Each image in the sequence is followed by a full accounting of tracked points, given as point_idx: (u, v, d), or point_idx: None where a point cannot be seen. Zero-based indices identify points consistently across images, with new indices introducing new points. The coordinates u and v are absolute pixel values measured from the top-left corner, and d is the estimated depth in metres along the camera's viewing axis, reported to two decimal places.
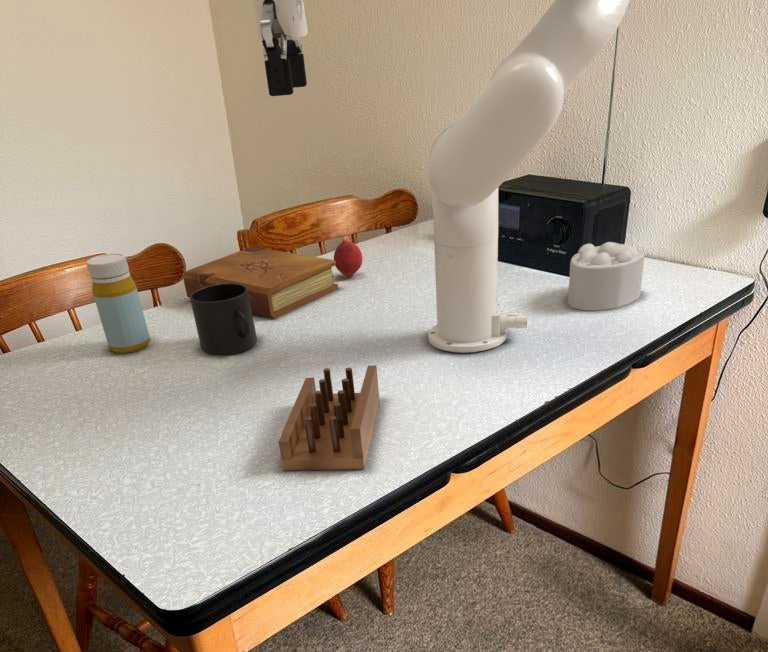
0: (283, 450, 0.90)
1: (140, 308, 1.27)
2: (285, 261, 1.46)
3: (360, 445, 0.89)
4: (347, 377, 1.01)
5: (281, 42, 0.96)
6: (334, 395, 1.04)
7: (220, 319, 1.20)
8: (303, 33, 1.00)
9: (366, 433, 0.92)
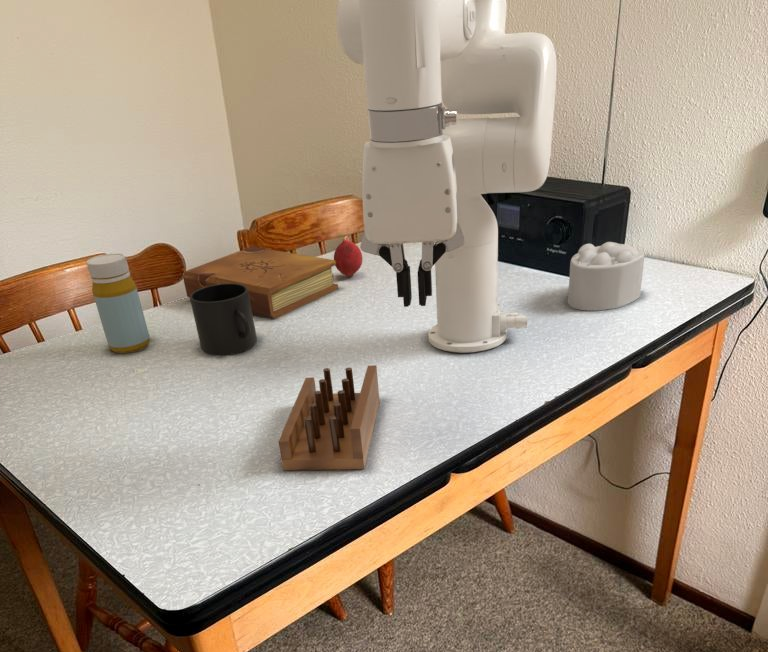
0: (283, 450, 0.90)
1: (140, 308, 1.27)
2: (285, 261, 1.46)
3: (360, 445, 0.89)
4: (347, 377, 1.01)
5: None
6: (334, 395, 1.04)
7: (220, 319, 1.20)
8: None
9: (366, 433, 0.92)
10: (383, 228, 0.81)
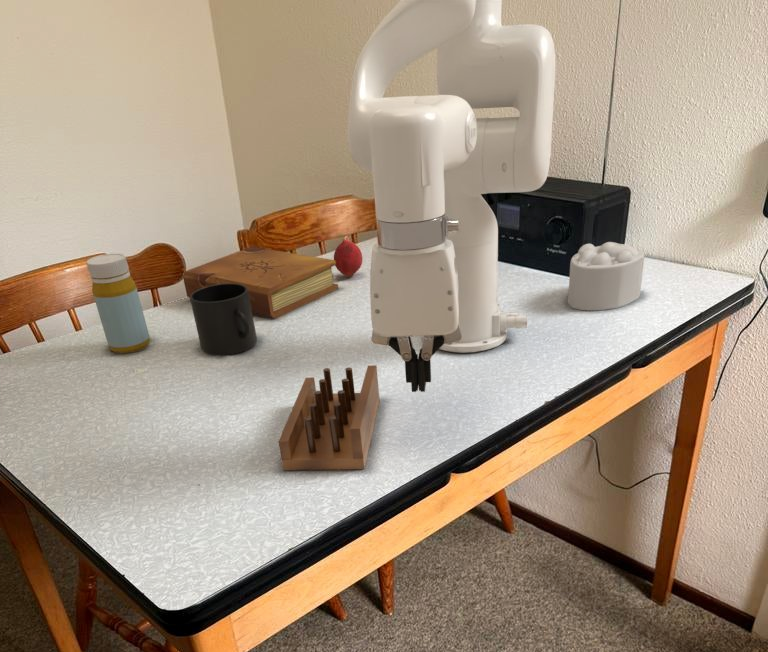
0: (283, 450, 0.90)
1: (140, 308, 1.27)
2: (285, 261, 1.46)
3: (360, 445, 0.89)
4: (347, 377, 1.01)
5: None
6: (334, 395, 1.04)
7: (220, 319, 1.20)
8: None
9: (366, 433, 0.92)
10: (389, 323, 0.86)
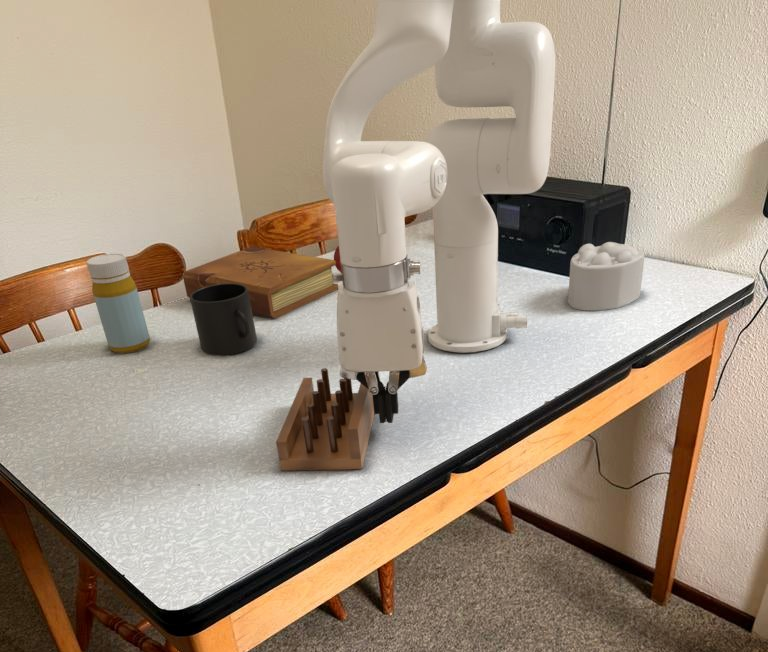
0: (281, 450, 0.90)
1: (140, 308, 1.27)
2: (285, 261, 1.46)
3: (358, 445, 0.89)
4: None
5: None
6: (332, 395, 1.04)
7: (220, 319, 1.20)
8: None
9: (364, 433, 0.92)
10: (356, 360, 0.90)
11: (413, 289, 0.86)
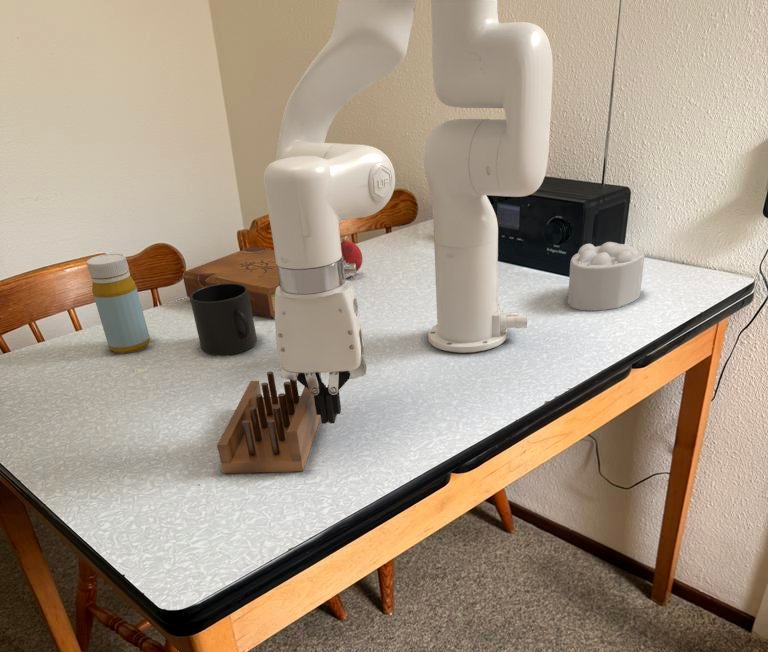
0: (222, 453, 0.91)
1: (140, 308, 1.27)
2: None
3: (298, 447, 0.89)
4: (290, 380, 1.02)
5: None
6: None
7: (220, 319, 1.20)
8: None
9: (306, 435, 0.93)
10: (295, 361, 0.90)
11: (349, 290, 0.86)
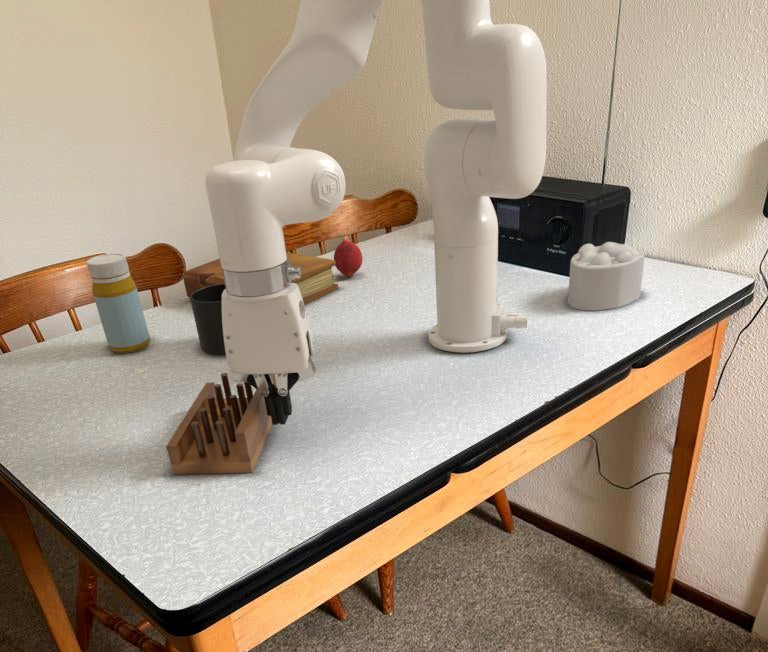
0: (171, 455, 0.91)
1: (140, 308, 1.27)
2: None
3: (246, 449, 0.90)
4: (244, 382, 1.02)
5: None
6: None
7: (220, 319, 1.20)
8: None
9: (256, 437, 0.94)
10: (243, 362, 0.91)
11: (294, 293, 0.87)
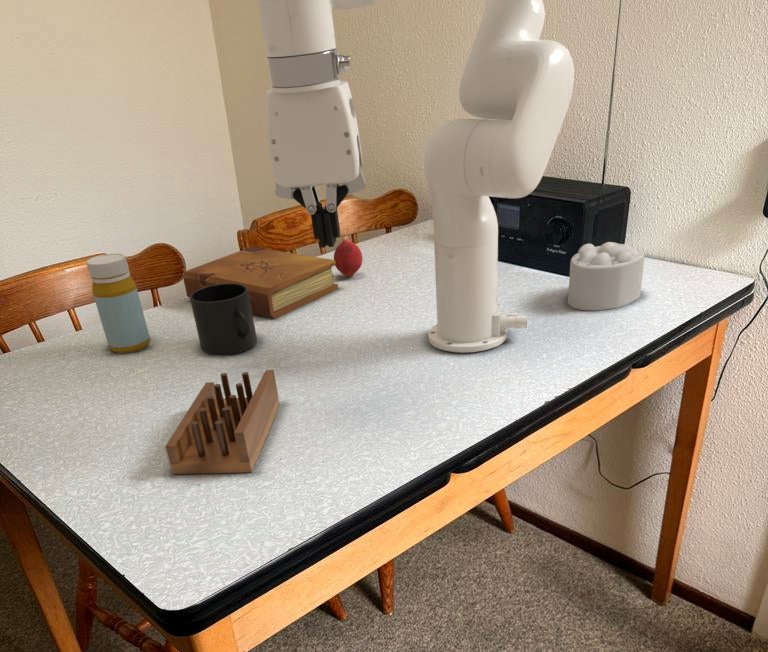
0: (171, 454, 0.91)
1: (140, 308, 1.27)
2: (285, 261, 1.46)
3: (245, 449, 0.90)
4: (244, 382, 1.02)
5: None
6: None
7: (220, 319, 1.20)
8: None
9: (255, 437, 0.94)
10: (290, 172, 0.86)
11: (345, 87, 0.82)
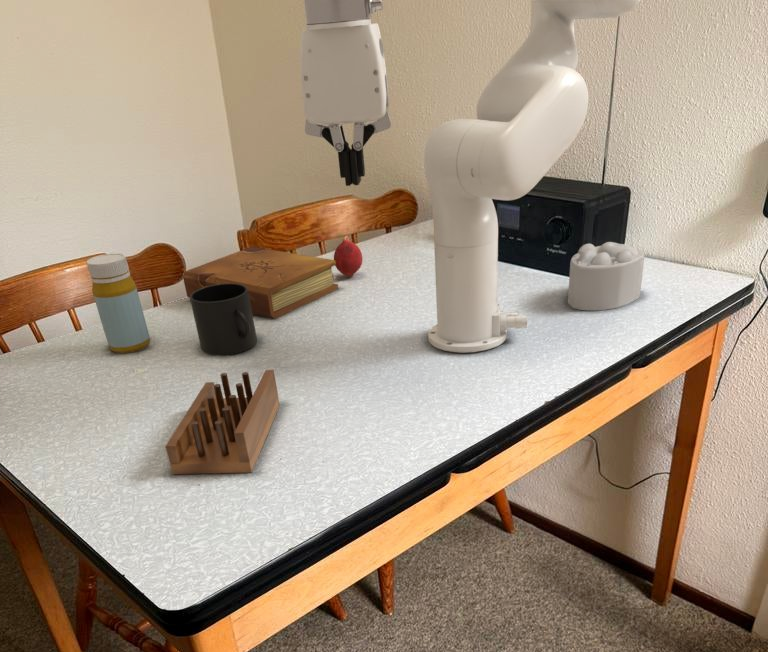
0: (171, 454, 0.91)
1: (140, 308, 1.27)
2: (285, 261, 1.46)
3: (245, 449, 0.90)
4: (244, 381, 1.02)
5: None
6: None
7: (220, 319, 1.20)
8: None
9: (255, 437, 0.94)
10: (320, 108, 0.90)
11: (375, 26, 0.86)
